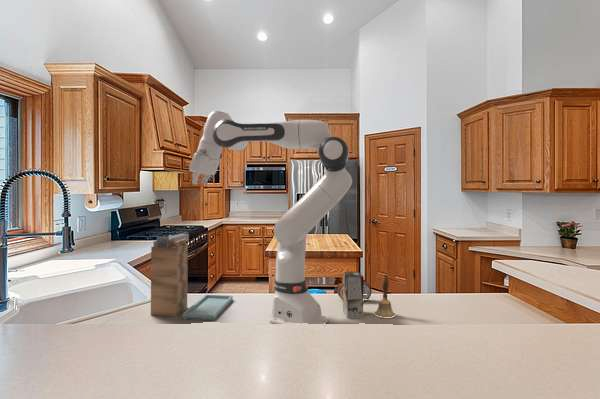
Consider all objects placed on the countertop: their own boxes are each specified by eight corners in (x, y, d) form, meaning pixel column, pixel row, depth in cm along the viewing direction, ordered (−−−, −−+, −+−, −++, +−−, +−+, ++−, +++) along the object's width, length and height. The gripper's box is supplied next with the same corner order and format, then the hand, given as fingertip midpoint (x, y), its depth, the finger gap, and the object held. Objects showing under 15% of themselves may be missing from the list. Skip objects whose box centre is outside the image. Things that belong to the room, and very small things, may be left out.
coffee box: (363, 318, 129) (364, 276, 129) (347, 318, 129) (347, 276, 129) (357, 310, 139) (358, 271, 138) (342, 310, 138) (343, 271, 138)
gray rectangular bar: (179, 240, 147) (180, 231, 147) (189, 240, 147) (189, 231, 146) (156, 247, 127) (156, 237, 127) (167, 248, 127) (167, 237, 127)
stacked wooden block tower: (163, 306, 139) (164, 238, 139) (187, 307, 138) (187, 238, 138) (150, 315, 129) (151, 241, 129) (176, 316, 128) (176, 242, 128)
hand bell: (369, 313, 136) (370, 273, 136) (386, 310, 139) (387, 271, 139) (382, 320, 128) (383, 278, 128) (400, 317, 132) (401, 276, 131)
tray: (205, 298, 150) (205, 294, 150) (232, 300, 149) (232, 295, 149) (182, 318, 126) (182, 313, 126) (213, 320, 125) (214, 315, 125)
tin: (370, 299, 153) (370, 281, 153) (371, 301, 150) (372, 282, 150) (337, 299, 153) (337, 280, 152) (338, 301, 150) (338, 282, 149)
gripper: (207, 150, 125) (196, 186, 125) (224, 156, 145) (214, 187, 146) (191, 145, 125) (180, 181, 126) (210, 151, 145) (200, 182, 146)
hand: (198, 184), depth 136 cm, fingers open, 8 cm apart
